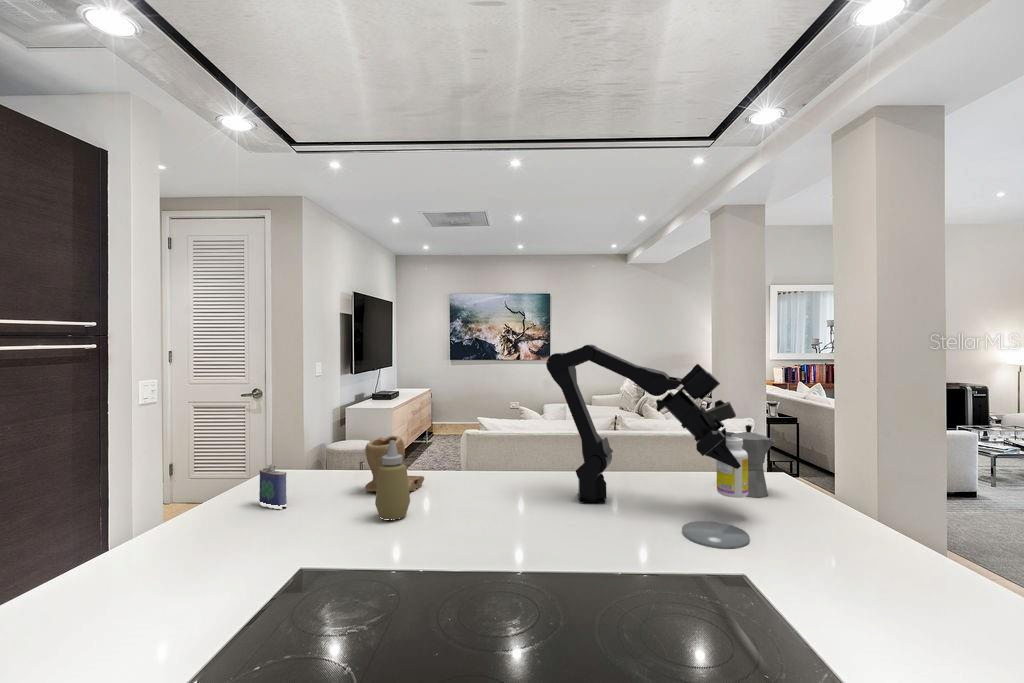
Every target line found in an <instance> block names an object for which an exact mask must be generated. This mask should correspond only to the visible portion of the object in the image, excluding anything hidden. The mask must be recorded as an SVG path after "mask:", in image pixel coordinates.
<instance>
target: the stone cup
mask: <svg viewBox="0 0 1024 683" xmlns="http://www.w3.org/2000/svg"><path fill="white" fill-rule="evenodd" d="M390 440H395V444H396V448H397V452H398V454H400V455H402V463H403V464H405V463H404V462H405V456H406V452H405V451H406V448H405V443H404V441H403V439H402V437H400V436H398V435H388V436H387V437H376V438H375V439H372V440H370V441H369V442H367V443H366V445H365V449H364V450H365V456H366V460H367V465H368V466H369V469H370V471H371V474H372V480H371V481H369V482H368V483H367V484H365V487H364V488H365V490H366V491H367V492H374V491H375V492H374V493H376V489H377V478H378V468H379V467H380V466H381V465H383V464H382V457H383V456H384V455H387V452H388V447H389V442H390ZM407 476H408V485H409V492H412V491H413V490H414V489H416V488H417V489H419V488H420V487H421V486H422V484H423V482H424V481H425V476H423V475H407ZM418 487H419V488H418ZM417 489H416V490H417ZM414 491H415V490H414Z"/></svg>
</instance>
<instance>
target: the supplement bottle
mask: <svg viewBox="0 0 1024 683" xmlns="http://www.w3.org/2000/svg"><path fill="white" fill-rule="evenodd" d="M726 446H727V447H728V449H729V450H730V451H731V453H732V454H733V455H734V457H735V458H736V459H737V461H738V462H739V464H740V465H741V467H739V468H738V469H736V468H734V467H732V466H729V465H727V464H725V463H723V462H720V461H718V460H716V459H715V460H716V462H715V463H716V491H717V493H718V494H720V495H721V496H723V497H727V498H734V499H735V498H736V499H737V498H738V499H739V498H747V497H746V496H747V495H748V454H747V452H746V451H745V450H743V449H742V446H743V439H742V438H738V437H726Z"/></svg>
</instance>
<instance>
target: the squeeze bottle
mask: <svg viewBox="0 0 1024 683" xmlns="http://www.w3.org/2000/svg"><path fill="white" fill-rule="evenodd" d="M382 464H383V465H381V466H380V467H379V468H378V478H377V489H376V492H375V504H374V505H375V508H376V510H377V513H378V516H379V518H380V517H381V518H383V519H389V520H391V519H392V520H393V519H399V518H402V517H404V516H405V515H406V516H407V512H408V510H409V506H410V502H411V497H410V495H411V494H410V491H409V485H408V476H409V475H408V471H407V469H408V467H407V465H406V464H405V463H404V464H403V463H402V455H400V454H398V452H397V448H396V444H395V440H390V442H389V447H388V452H387V455H384V456H383V457H382ZM406 516H405V517H406ZM405 517H404V518H405ZM381 518H380V519H381ZM402 519H403V518H402ZM399 520H400V519H399Z"/></svg>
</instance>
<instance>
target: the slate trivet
mask: <svg viewBox="0 0 1024 683" xmlns="http://www.w3.org/2000/svg"><path fill="white" fill-rule="evenodd" d="M681 534H682V535H683V536H684V537H685V538H686V539H688V540H689V541H691V542H693V543H695V544H697V545H701V546H705V547H710V548H714V549H715V548H716V549H725V550H727V549H729V550H730V549H739V548H740V549H741V548H743V547H746V546H748V544H750V539H751V538H750V535H749V533H748V532H746V530H743V529H742V528H740V527H738V526H735V525H733V524H728V523H726V522H725V523H724V522H719V521H713V520H696V521H689V522H687V523H685V524H683V525H682V527H681Z"/></svg>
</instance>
